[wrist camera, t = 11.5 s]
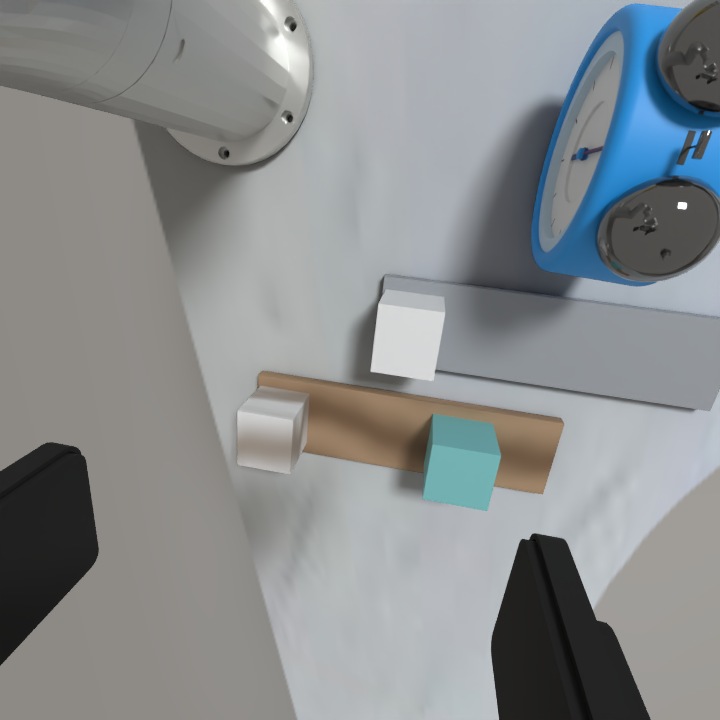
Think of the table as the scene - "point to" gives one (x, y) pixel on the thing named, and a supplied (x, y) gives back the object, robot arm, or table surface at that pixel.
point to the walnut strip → (379, 429)
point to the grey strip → (547, 341)
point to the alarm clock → (636, 151)
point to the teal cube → (460, 462)
